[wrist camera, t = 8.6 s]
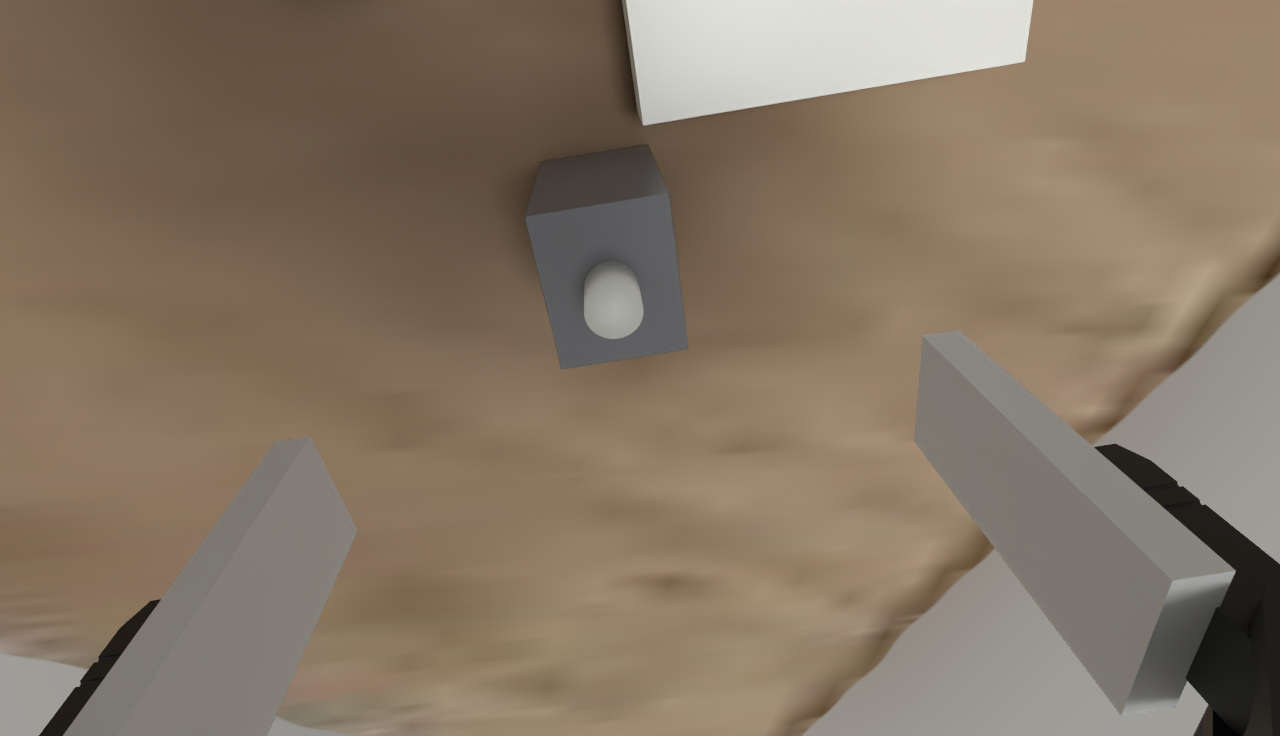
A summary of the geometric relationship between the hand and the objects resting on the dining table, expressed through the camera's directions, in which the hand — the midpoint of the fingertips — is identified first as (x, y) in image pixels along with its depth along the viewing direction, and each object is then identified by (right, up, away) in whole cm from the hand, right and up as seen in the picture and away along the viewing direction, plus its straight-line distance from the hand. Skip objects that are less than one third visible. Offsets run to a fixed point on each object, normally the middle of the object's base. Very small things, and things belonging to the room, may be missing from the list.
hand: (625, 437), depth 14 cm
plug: (-1, +8, +14) cm, 16 cm away
